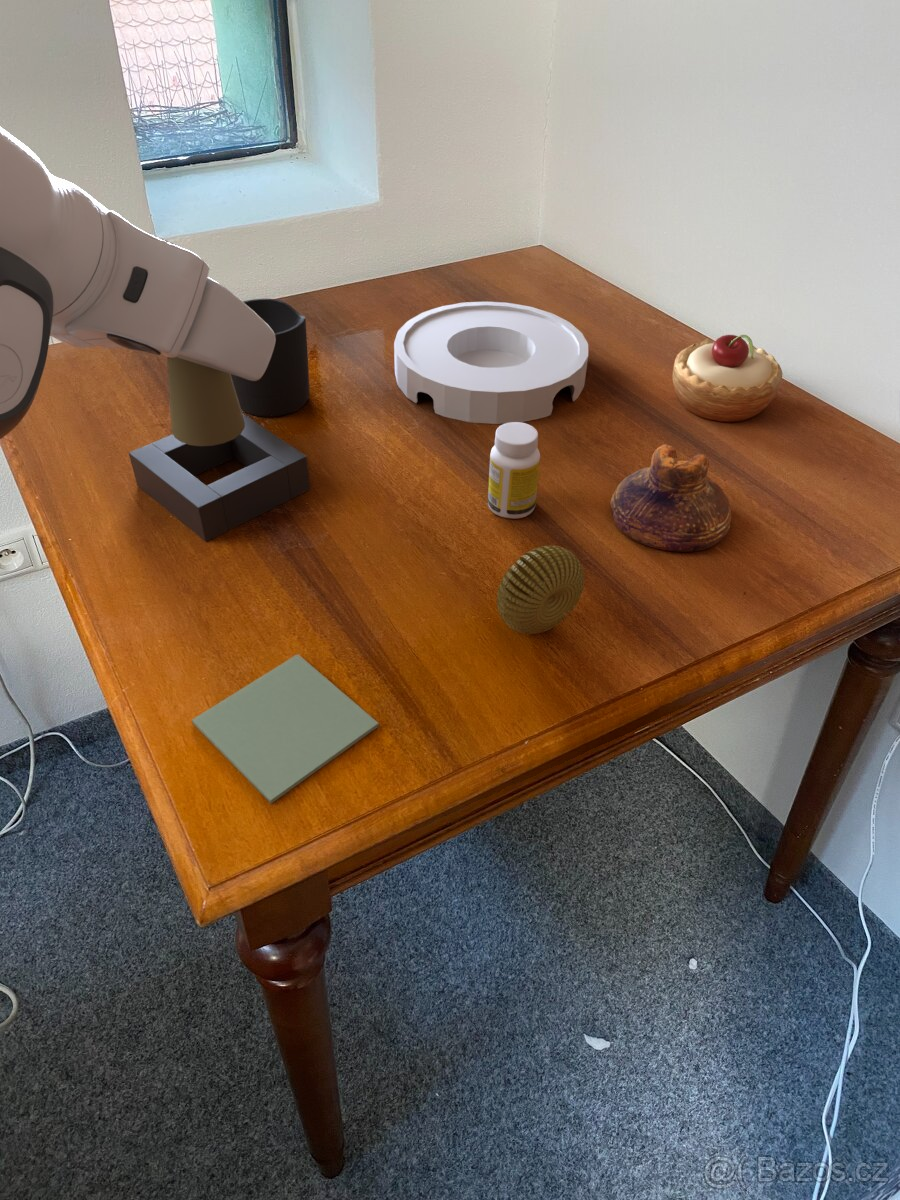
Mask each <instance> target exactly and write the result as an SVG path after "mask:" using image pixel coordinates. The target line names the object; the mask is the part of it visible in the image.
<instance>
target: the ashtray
mask: <svg viewBox="0 0 900 1200" xmlns="http://www.w3.org/2000/svg"><path fill="white" fill-rule="evenodd" d="M393 352H394V353H393V354H394V355H393V356H394V375H395V380H396V384H397V386H398V388H399V389H400V390H401V392H402V393H403V394H404V396H405V397H406V398H407V399H409V400H410V401H412V402H413V403H414V404H416V405H417V403H418V399H419V394H418V393H424V394H426V395H429V396H430V397H431V398H432V401H433V410H434V414H436V415H439V416H442V417H443V418H448V419H453V420H458V421H462V422H466V423H476V424H489V425H503V424H506V423H510V422H521V423H527V422H530V421H534V420H538V419H543V418H547V417H550V416H551V415H552V412H553V410H554V405H553V401H554V398H555V397H556V396H557V394H559V392H560V391H561V390H562V389H564V388H566V387H569V392H570V394H571V399H572V402H575V401H576V400H578V399H579V396H580V395H581V393H582V391H583V390H584V387H585V384H586V376H587V369H588V360H589V343H588V341H587V339H586V338H585V335H584V334H583V332H582V331H581V330H580V329H578V327H575V325H573V324H572V323H571V322H570V321H568V320H566V319H565V318H562V317H560V316H558V315H556V314H554V313H553V312H549V311H546V310H542V309H539V308H536V307H533V306H529V305H523V304H517V303H512V302H501V301H486V300H485V301H468V302H457V303H453V304H446V305H442V306H438V307H435V308H431V309H429V310H426V311H422V312H421V313H419V314H417V315H415V316H413V317H412V318H410V319H409V320H407V321H406V322H404V324H403V325H402V326H401V327H400V328H399V329H398V330H397V333H396V336H395V338H394V342H393Z"/></svg>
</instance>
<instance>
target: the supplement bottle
mask: <svg viewBox="0 0 900 1200" xmlns="http://www.w3.org/2000/svg"><path fill="white" fill-rule="evenodd" d="M538 442H539V432H538V431H537V429H536V428H535V427H534V426H533V425H531V424H528V423H527V422H510V423H505V424H500V425H498V427H497V428H496V430H495V437H494V445H493V446H492V448H491V450H490V454H489V471H488V473H489V474H488V490H487V506H488V508H489V510H490V511H491V512H492V513H493V514H495V515H496V516H499V517H501V518H505V519H512V520H513V519H514V520H515V519H522V518H525V517H527V516H529V515H531V514H532V513H533V512H534V510H535V508H536V505H537V496H538V494H537V493H538V484H539V476H540V475H539V474H540V462H541V452H540V450H539V448H538V445H539V444H538Z"/></svg>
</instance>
